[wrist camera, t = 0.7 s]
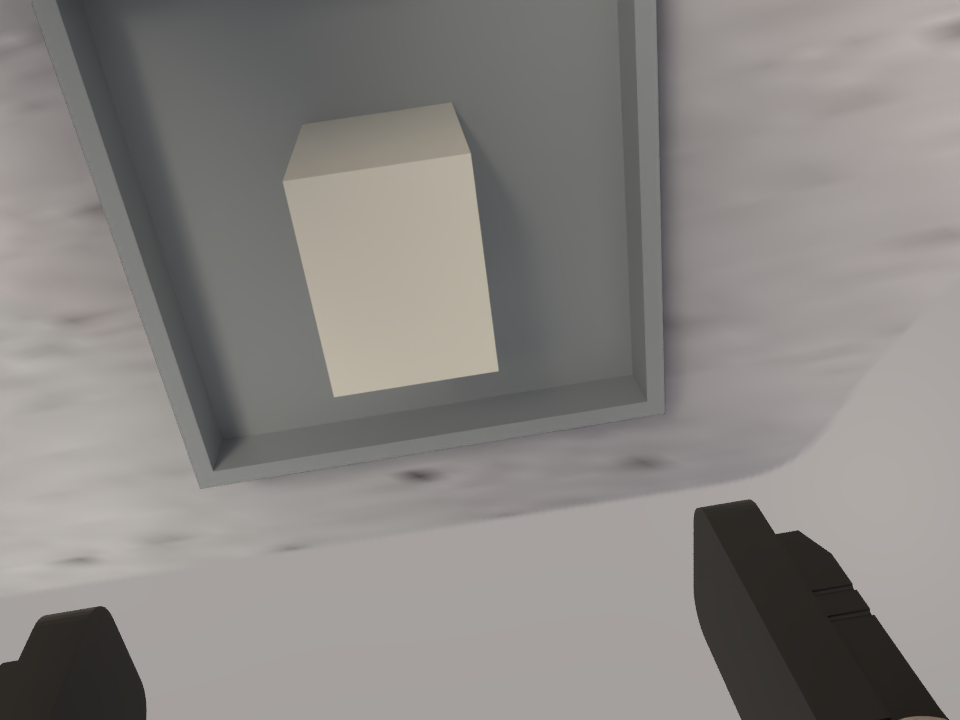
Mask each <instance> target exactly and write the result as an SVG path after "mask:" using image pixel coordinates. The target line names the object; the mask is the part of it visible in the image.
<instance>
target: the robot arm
mask: <svg viewBox="0 0 960 720" xmlns="http://www.w3.org/2000/svg"><path fill="white" fill-rule="evenodd" d="M694 598H695V605H696V610H697V615H698V619H699V623H700V626H701V629H702V632H703V635H704V637H705V639H706V642H707V644H708V646H709V648H710V651H711V653H712V655H713V657H714V660H715V662H716V664H717V666H718V668H719V671H720V673H721V675H722V677H723V680H724V682H725V684H726V686H727V689H728V691H729V693H730V695H731V697H732V700H733V702H734V704H735V706H736V709H737V711H738V713H739V715H740V718H741V720H949V719H948V718H947V717H946V716H945V714H944V713H943V712H942V711H941V710H940V708H939V707H938V705H937V704H936V702H935V701H934V700H933V698H932V697H931V695H930V694H929V692H928V691H927V690H926V688H925V687H924V685H923V684H922V683H921V681H920V680H919V678H918V677H917V675H916V674H915V673H914V671H913V670H912V668H911V667H910V665H909V664H908V663H907V661H906V660H905V658H904V657H903V655H902V654H901V653H900V651H899V650H898V648H897V647H896V645H895V644H894V643H893V641H892V640H891V638H890V637H889V635H888V634H887V633H886V631H885V630H884V628H883V627H882V625H881V624H880V622H879V621H878V620H877V618H876V617H875V615H871V613H870V608H869V607H868V606H867V604H866V603H865V601H864V600H863V598H862V597H861V595H860V594H859V592H858V591H857V590H854V589H853V586H852V583H851V581H850V580H849V578H848V577H847V575H846V574H845V572H844V571H843V570H842V568H841V567H840V566H839V564H838V562H837V561H836V560H835V558H834V557H833V555H832V554H831V553H830V552H828V551H827V550H825V549H824V548H822V547H821V546H820V545H818V544H817V543H815V542H814V541H812V540H811V539H810V538H808V537H806V536H805V535H804V534H802V533H801V532H800V531H792V532H786V533H780V534H775V533H774V531H773V530H772V528H771V527H770V525H769V523H768V522H767V520H766V519H765V517H764V515H763V514H762V512H761V511H760V509H759V508H758V506H757V505H756V504H755V503H754V502H753V501H752V500H743V501H736V502H731V503H725V504H719V505H713V506H707V507H701V508H697V509H696V510H695V514H694ZM0 720H146V698H145V692H144V688H143V684H142V682H141V679H140V677H139V675H138V673H137V670H136V668H135V666H134V664H133V662H132V659H131V657H130V655H129V653H128V650H127V648H126V646H125V644H124V642H123V639H122V637H121V635H120V633H119V631H118V628H117V626H116V624H115V622H114V619H113V618H112V616H111V614H110V612H109V611H108V610H107V609H106V608H105V607H102V606H98V607H92V608H87V609H80V610H75V611H69V612H63V613H57V614H51V615H45V616H43V617H41V618H40V619H39V620H38V621H37V623H36V624H35V626H34V628H33V630H32V632H31V634H30V637H29V639H28V641H27V643H26V645H25V647H24V649H23V651H22V653H21V656H20V658H19V660H18V661H12V662H6V663H2V664H1V665H0Z"/></svg>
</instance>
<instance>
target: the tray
mask: <svg viewBox="0 0 960 720" xmlns="http://www.w3.org/2000/svg"><path fill="white" fill-rule="evenodd" d="M31 3H32V6H33V9H34V12H35V14H36V17H37V20H38V23H39V26H40V29H41V32H42V35H43V37H44V40H45V43H46V46H47V49H48V52H49V55H50V58H51V61H52V63H53V66H54V69H55V72H56V75H57V78H58V81H59V84H60V86H61V89H62V92H63V95H64V98H65V101H66V104H67V107H68V109H69V112H70V115H71V118H72V121H73V124H74V127H75V130H76V133H77V135H78V138H79V141H80V144H81V147H82V150H83V153H84V156H85V158H86V161H87V164H88V167H89V170H90V173H91V176H92V179H93V182H94V184H95V187H96V190H97V193H98V196H99V199H100V202H101V205H102V207H103V210H104V213H105V216H106V219H107V222H108V225H109V228H110V230H111V233H112V236H113V239H114V242H115V245H116V248H117V251H118V254H119V256H120V259H121V262H122V265H123V268H124V271H125V274H126V277H127V279H128V282H129V285H130V288H131V291H132V294H133V297H134V300H135V302H136V305H137V308H138V311H139V314H140V317H141V320H142V323H143V326H144V328H145V331H146V334H147V337H148V340H149V343H150V346H151V349H152V351H153V354H154V357H155V360H156V363H157V366H158V369H159V372H160V375H161V377H162V380H163V383H164V386H165V389H166V392H167V395H168V398H169V400H170V403H171V406H172V409H173V412H174V415H175V418H176V421H177V423H178V426H179V429H180V432H181V435H182V438H183V441H184V444H185V447H186V449H187V452H188V455H189V458H190V461H191V464H192V467H193V470H194V472H195V475H196V478H197V481H198V484H199V487H200V489H202V488H208V487H215V486H221V485H227V484H233V483H239V482H245V481H252V480H258V479H264V478H270V477H276V476H283V475H289V474H295V473H301V472H307V471H313V470H320V469H326V468H332V467H338V466H344V465H350V464H357V463H363V462H369V461H375V460H381V459H387V458H394V457H400V456H406V455H412V454H418V453H425V452H431V451H437V450H443V449H449V448H455V447H462V446H468V445H474V444H480V443H486V442H492V441H499V440H505V439H511V438H517V437H523V436H529V435H536V434H542V433H548V432H554V431H560V430H567V429H573V428H579V427H585V426H591V425H597V424H604V423H610V422H616V421H622V420H628V419H634V418H641V417H647V416H653V415H659V414H665V396H664V348H663V301H662V254H661V206H660V159H659V111H658V64H657V16H656V0H31ZM450 102H452V105H453V107H454V110H455V113H456V115H457V118H458V120H459V123H460V126H461V128H462V131H463V134H464V136H465V139H466V142H467V144H468V147H469V150H470V152H471V158H472V166H473V174H474V182H475V190H476V198H477V205H478V213H479V221H480V229H481V237H482V244H483V252H484V260H485V268H486V276H487V284H488V291H489V299H490V307H491V315H492V323H493V330H494V338H495V346H496V354H497V362H498V370H499V371H497V372H490V373H484V374H478V375H471V376H465V377H459V378H453V379H446V380H440V381H434V382H427V383H421V384H415V385H409V386H402V387H396V388H390V389H383V390H377V391H371V392H365V393H358V394H352V395H346V396H339V397H334V395H333V391H332V387H331V382H330V378H329V374H328V370H327V366H326V361H325V357H324V353H323V349H322V345H321V340H320V336H319V332H318V328H317V324H316V319H315V315H314V311H313V307H312V303H311V298H310V294H309V290H308V286H307V282H306V278H305V273H304V269H303V265H302V261H301V257H300V252H299V248H298V244H297V240H296V236H295V231H294V227H293V223H292V219H291V215H290V210H289V206H288V202H287V198H286V194H285V189H284V185H283V179H284V176H285V173H286V170H287V167H288V164H289V161H290V158H291V156H292V153H293V150H294V147H295V144H296V141H297V138H298V135H299V132H300V129H301V127H302V124H308V123H315V122H321V121H328V120H335V119H342V118H349V117H355V116H362V115H369V114H376V113H382V112H389V111H396V110H403V109H409V108H416V107H423V106H430V105H437V104H443V103H450Z"/></svg>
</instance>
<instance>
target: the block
mask: <svg viewBox="0 0 960 720" xmlns="http://www.w3.org/2000/svg"><path fill="white" fill-rule="evenodd" d="M283 185H284V189H285V194H286V198H287V202H288V206H289V210H290V215H291V219H292V223H293V227H294V231H295V236H296V240H297V244H298V248H299V252H300V257H301V261H302V265H303V269H304V273H305V278H306V282H307V286H308V290H309V294H310V298H311V303H312V307H313V311H314V315H315V319H316V324H317V328H318V332H319V336H320V340H321V345H322V349H323V353H324V357H325V361H326V366H327V370H328V374H329V378H330V382H331V387H332V391H333V395H334V397H339V396H346V395H352V394H358V393H365V392H371V391H377V390H383V389H390V388H396V387H402V386H409V385H415V384H421V383H427V382H434V381H440V380H446V379H453V378H459V377H465V376H471V375H478V374H484V373H490V372H497V371H499V370H498V362H497V354H496V346H495V338H494V330H493V323H492V315H491V307H490V299H489V291H488V284H487V276H486V268H485V260H484V252H483V244H482V237H481V229H480V221H479V213H478V205H477V198H476V190H475V182H474V174H473V166H472V158H471V152H470V150H469V147H468V144H467V142H466V139H465V136H464V134H463V131H462V128H461V126H460V123H459V120H458V118H457V115H456V113H455V110H454V107H453V105H452V102H450V103H443V104H437V105H430V106H423V107H416V108H409V109H403V110H396V111H389V112H382V113H376V114H369V115H362V116H355V117H349V118H342V119H335V120H328V121H321V122H315V123H308V124H302V127H301V129H300V132H299V135H298V138H297V141H296V144H295V147H294V150H293V153H292V156H291V158H290V161H289V164H288V167H287V170H286V173H285V176H284V179H283Z"/></svg>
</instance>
